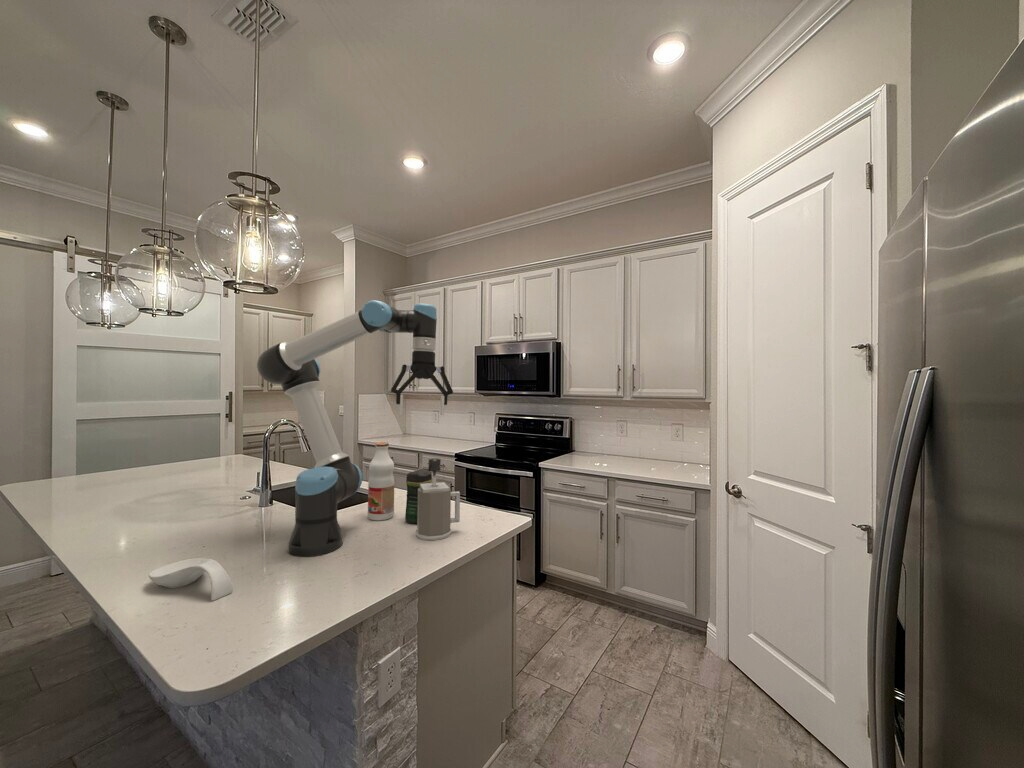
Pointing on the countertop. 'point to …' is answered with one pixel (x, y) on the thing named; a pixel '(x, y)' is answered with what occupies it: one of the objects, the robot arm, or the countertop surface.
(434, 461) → the plunger
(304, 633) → the countertop surface
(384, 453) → the fruit juice
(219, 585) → the spoon rest
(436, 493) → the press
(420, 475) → the coffee jar
